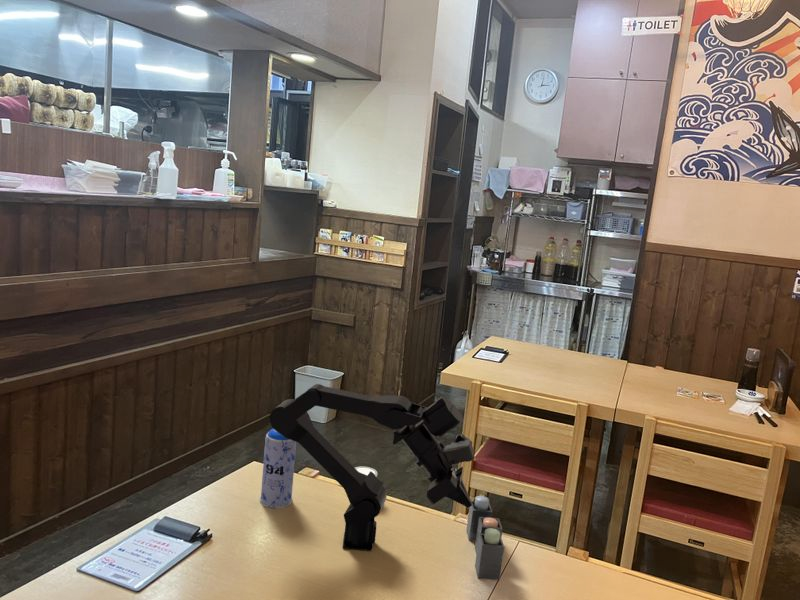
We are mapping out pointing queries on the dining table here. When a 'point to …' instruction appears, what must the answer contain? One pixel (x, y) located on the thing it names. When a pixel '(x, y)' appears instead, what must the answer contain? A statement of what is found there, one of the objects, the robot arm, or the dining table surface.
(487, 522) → the terracotta button
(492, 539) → the sage button
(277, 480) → the aerosol can
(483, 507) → the slate button
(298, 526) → the dining table surface
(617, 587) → the dining table surface
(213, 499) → the dining table surface
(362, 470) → the shot glass
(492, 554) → the button stand
